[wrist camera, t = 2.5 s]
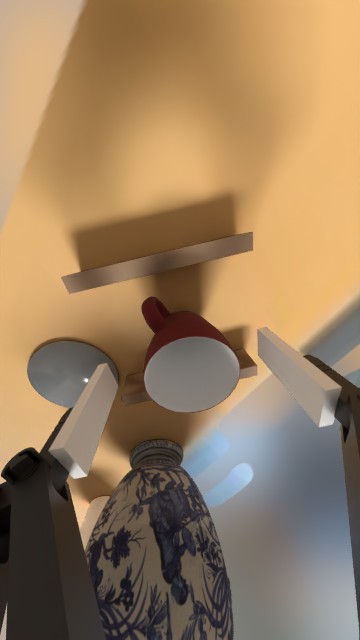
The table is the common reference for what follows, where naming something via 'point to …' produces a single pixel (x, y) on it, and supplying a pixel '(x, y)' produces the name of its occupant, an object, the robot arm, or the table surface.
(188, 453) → the table surface
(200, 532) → the decorative vase
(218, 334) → the mug
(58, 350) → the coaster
